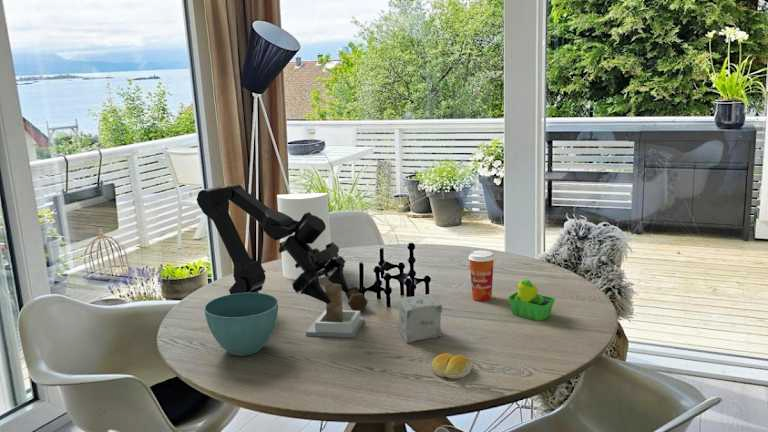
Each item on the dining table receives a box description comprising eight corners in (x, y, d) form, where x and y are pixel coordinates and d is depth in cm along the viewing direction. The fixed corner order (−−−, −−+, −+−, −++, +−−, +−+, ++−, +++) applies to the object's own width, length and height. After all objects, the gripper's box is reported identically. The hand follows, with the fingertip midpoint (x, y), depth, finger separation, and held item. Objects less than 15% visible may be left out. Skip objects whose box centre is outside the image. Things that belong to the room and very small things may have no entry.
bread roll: (441, 361, 163) (441, 345, 163) (475, 368, 159) (475, 352, 158) (424, 374, 157) (424, 358, 156) (460, 383, 152) (459, 366, 151)
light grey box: (407, 345, 173) (406, 306, 171) (397, 333, 181) (396, 296, 179) (443, 339, 176) (442, 301, 174) (432, 328, 184) (431, 291, 181)
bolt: (354, 300, 214) (361, 315, 199) (339, 294, 213) (346, 308, 198) (362, 284, 213) (370, 298, 199) (348, 277, 212) (354, 291, 198)
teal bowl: (245, 370, 162) (242, 322, 160) (192, 354, 172) (188, 308, 169) (294, 344, 177) (292, 299, 175) (243, 330, 187) (240, 288, 184)
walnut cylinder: (327, 328, 184) (325, 289, 181) (326, 322, 188) (324, 284, 186) (344, 326, 184) (342, 287, 182) (342, 321, 189) (340, 282, 186)
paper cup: (466, 301, 203) (465, 256, 200) (472, 293, 210) (472, 249, 207) (492, 303, 200) (491, 257, 197) (497, 295, 207) (497, 251, 204)
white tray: (306, 335, 182) (305, 323, 182) (319, 319, 194) (318, 307, 193) (353, 337, 180) (352, 324, 179) (363, 320, 191) (363, 309, 190)
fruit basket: (556, 315, 189) (556, 276, 187) (539, 325, 183) (540, 284, 180) (520, 307, 197) (520, 269, 194) (503, 315, 190) (503, 277, 188)
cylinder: (330, 279, 230) (325, 197, 224) (279, 281, 231) (272, 199, 225) (334, 264, 247) (329, 188, 241) (286, 266, 248) (281, 190, 242)
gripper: (298, 244, 175) (337, 290, 172) (337, 227, 191) (373, 270, 188) (276, 270, 180) (313, 315, 177) (316, 252, 196) (350, 293, 193)
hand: (339, 297), depth 184 cm, fingers open, 9 cm apart
